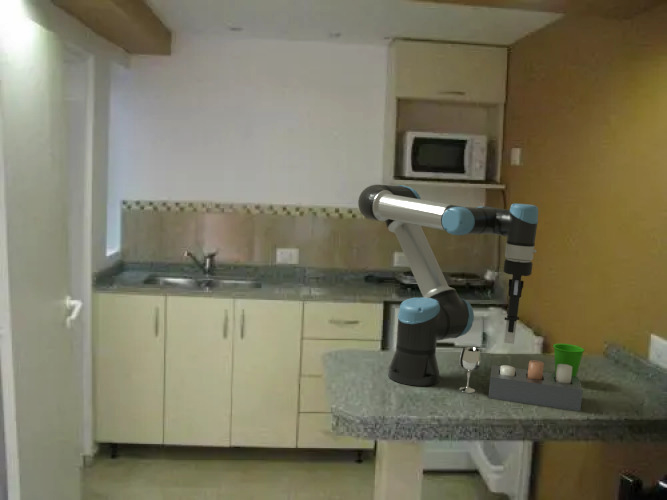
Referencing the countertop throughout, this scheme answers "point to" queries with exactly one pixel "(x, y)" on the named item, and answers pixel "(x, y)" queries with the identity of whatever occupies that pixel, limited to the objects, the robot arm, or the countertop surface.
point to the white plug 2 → (563, 373)
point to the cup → (568, 356)
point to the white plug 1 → (507, 370)
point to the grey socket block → (535, 389)
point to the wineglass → (469, 364)
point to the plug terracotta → (535, 369)
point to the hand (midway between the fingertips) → (509, 342)
